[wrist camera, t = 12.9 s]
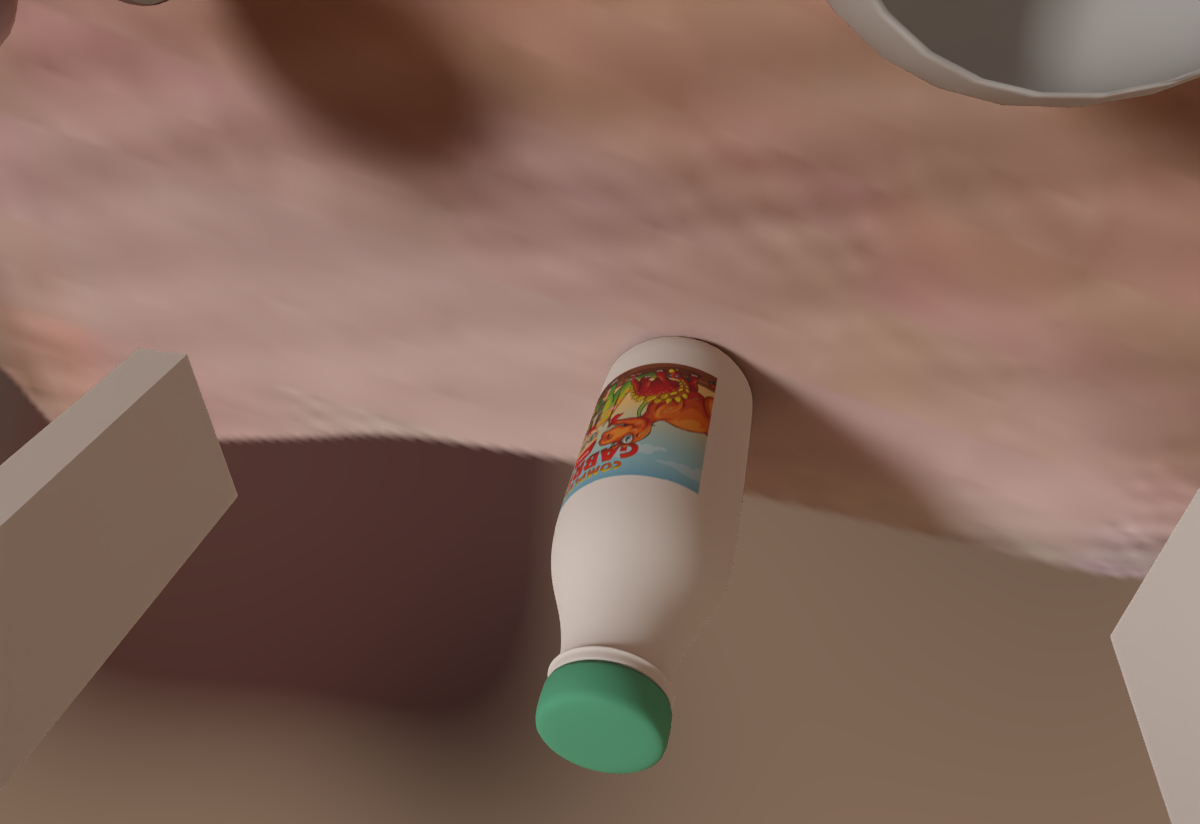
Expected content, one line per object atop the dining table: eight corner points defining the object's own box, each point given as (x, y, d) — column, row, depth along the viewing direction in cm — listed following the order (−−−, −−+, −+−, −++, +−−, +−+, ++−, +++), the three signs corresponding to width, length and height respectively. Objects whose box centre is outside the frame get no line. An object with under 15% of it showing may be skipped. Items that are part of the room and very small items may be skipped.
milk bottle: (779, 365, 41) (752, 726, 26) (719, 470, 46) (665, 827, 31) (634, 308, 41) (517, 637, 25) (588, 419, 46) (467, 753, 30)
